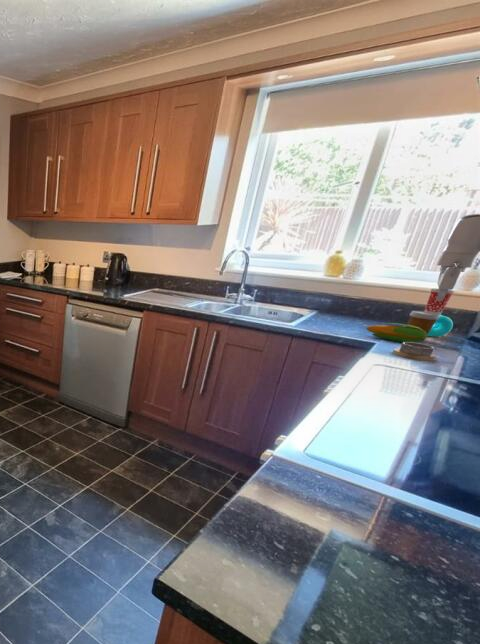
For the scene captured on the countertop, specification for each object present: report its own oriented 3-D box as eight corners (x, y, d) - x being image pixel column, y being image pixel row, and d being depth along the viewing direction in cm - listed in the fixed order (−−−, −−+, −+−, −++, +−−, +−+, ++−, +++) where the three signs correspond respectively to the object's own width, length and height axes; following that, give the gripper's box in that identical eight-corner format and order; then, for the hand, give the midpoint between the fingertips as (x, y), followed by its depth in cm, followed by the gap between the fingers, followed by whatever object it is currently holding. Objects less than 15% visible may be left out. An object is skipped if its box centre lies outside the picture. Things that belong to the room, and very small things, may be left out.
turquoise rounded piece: (419, 335, 199) (429, 314, 195) (410, 331, 207) (419, 311, 204) (448, 338, 195) (458, 317, 191) (437, 334, 203) (446, 313, 200)
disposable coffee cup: (431, 342, 187) (444, 316, 182) (402, 339, 192) (414, 313, 187) (425, 338, 194) (436, 312, 190) (397, 334, 199) (408, 309, 195)
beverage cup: (423, 311, 165) (439, 274, 159) (445, 314, 160) (463, 277, 155) (418, 312, 161) (435, 275, 156) (441, 316, 157) (459, 277, 151)
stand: (434, 356, 167) (439, 345, 165) (435, 363, 159) (440, 351, 157) (393, 349, 174) (397, 339, 173) (391, 355, 167) (396, 344, 165)
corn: (430, 328, 178) (368, 319, 191) (422, 346, 180) (361, 336, 194) (431, 327, 183) (370, 318, 196) (423, 344, 185) (363, 334, 199)
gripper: (471, 263, 145) (452, 304, 150) (466, 261, 158) (449, 298, 163) (444, 261, 149) (427, 301, 154) (442, 259, 162) (426, 295, 167)
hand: (438, 299), depth 159 cm, fingers closed on beverage cup, 6 cm apart
